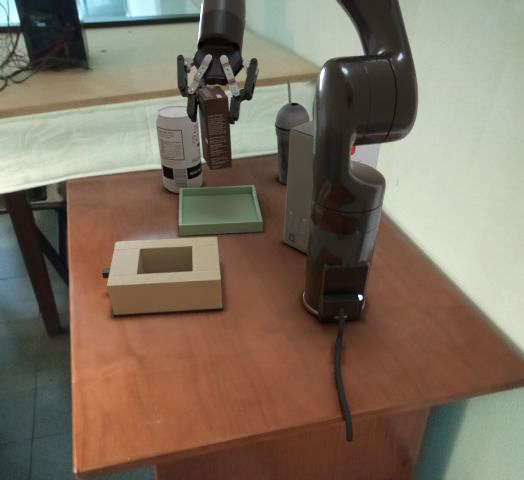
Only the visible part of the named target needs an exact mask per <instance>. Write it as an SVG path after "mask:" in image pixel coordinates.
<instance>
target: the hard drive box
mask: <svg viewBox="0 0 524 480" xmlns="http://www.w3.org/2000/svg"><path fill="white" fill-rule="evenodd" d="M313 137H314V119H312V120H310V121H309V122H307V123H304V124H301V125H298V126H296V127H293V128H291V130H290V139H289V160H288V176H287V184H286V192H285V193H286V194H285V207H284V208H285V211H284V225H283V239H282V240H283V241H282V242H283V243H284V244H286V245H288V246H291V247H293V248H294V249H296V250H299V251H300V252H301V253H305V254H306V255H307V249H308V237H309V224H310V214H311V201H312V189H313V172H312V158H313ZM381 145H382V143H381V144H372V145H362V146H352V148H351V160H353V161H356V162H360V163H363V164H366V165H369V166H371V167H373V168H375V169H376V170H377V167H378V161H379V155H380V149H381Z"/></svg>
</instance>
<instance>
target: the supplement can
mask: <svg viewBox="0 0 524 480" xmlns="http://www.w3.org/2000/svg"><path fill="white" fill-rule="evenodd" d="M154 122H155V130H156V137H157V144H158V151H159V160H160V167H161V174H162V175H161V176H162V182H163V186H164V188H166V189H167V190H168V191H169V192H171V193H174V194H179V190H180V188H198V187H202V185H203V183H204V180H203V179H204V178H203V167H202V166H203V165H202V153H201V141H200V139H201V137H200V124H199V119H198V117H197V121H196V122H192V121H191V119H190V118H189V117H188V115H187V105H171V106H170V105H169V106H165V107H161V108H159V109H158V110H157V114H156V117H155V119H154Z"/></svg>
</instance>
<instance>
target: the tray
mask: <svg viewBox="0 0 524 480" xmlns="http://www.w3.org/2000/svg"><path fill="white" fill-rule="evenodd" d="M178 194H179V196H178V197H179V198H178V231H179V232H178V233H179V236H180V237H181V236H202V235H203V236H205V235H221V234H241V233H263V231H264V230H263V229H264V227H263V226H264V222H263V221H264V220H263V216H262V212H261V208H260V204H259V200H258V194H257V190H256V186H255V185H254V184H251V185H247V184H246V185H230V186H229V185H227V186H225V185H224V186H200V187H198V188H180V190H179V193H178Z"/></svg>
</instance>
